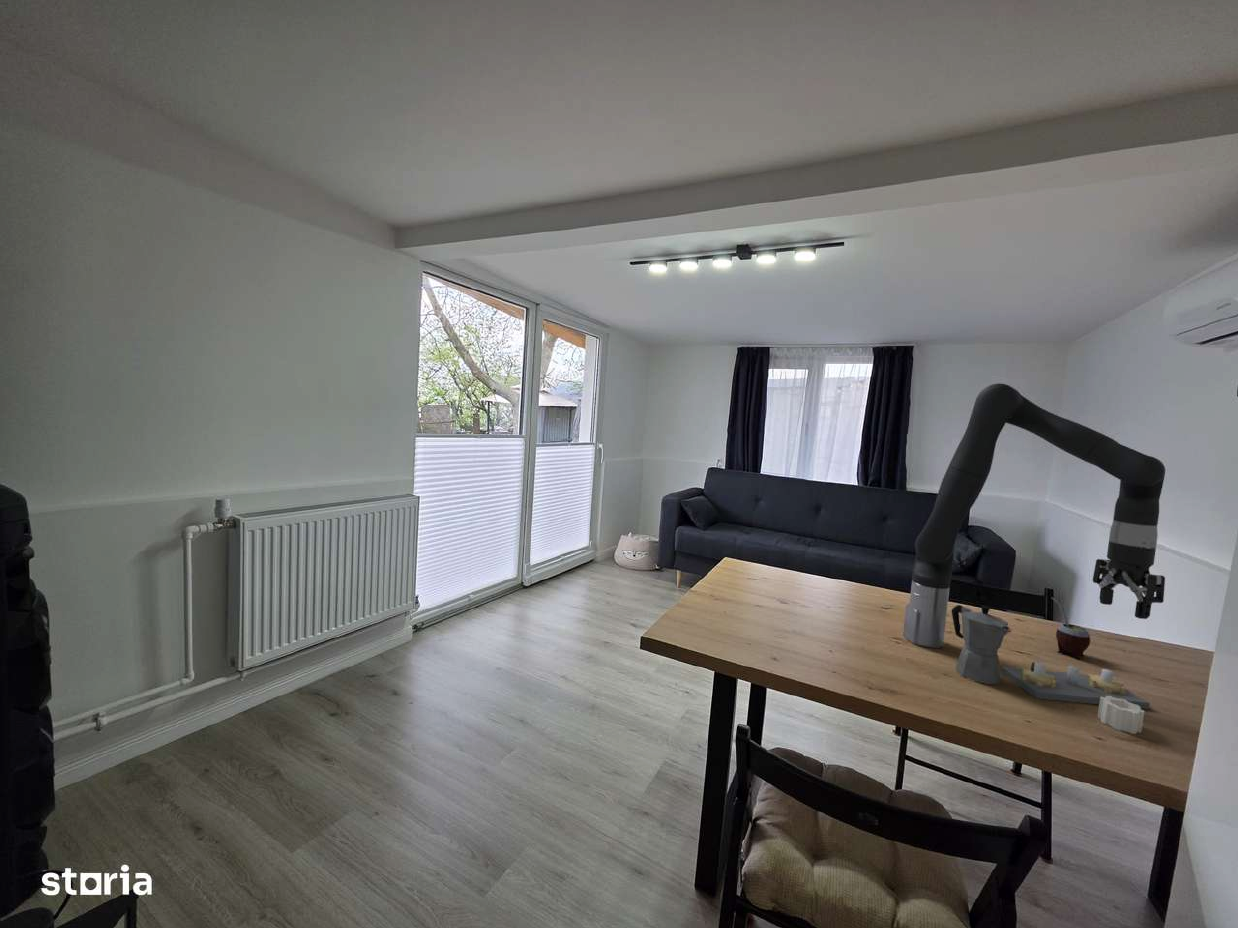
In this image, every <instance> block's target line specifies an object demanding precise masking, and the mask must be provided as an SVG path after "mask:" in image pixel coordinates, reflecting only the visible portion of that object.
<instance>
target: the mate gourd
mask: <svg viewBox="0 0 1238 928" xmlns="http://www.w3.org/2000/svg"><path fill="white" fill-rule="evenodd" d="M1050 598H1051V600H1053V602H1055V603H1056V605H1058V606H1059V610H1060V611H1061V613H1062V616H1063V619H1064V623H1063V624H1060V625H1059V626H1058V627H1057V630H1056V633H1055V637H1056V640H1057V648H1058V650H1057V652H1058V654H1059V653H1062V654H1061V655H1066V656H1071V657H1072V658H1074V659H1076V660H1079V661H1080V659H1081V658H1080V657H1084V656H1085V654H1084V652H1086V651H1087V649H1088V648H1089V646H1090V644H1091V637H1090V633H1089V632H1088V630H1087V629H1086V628H1084V627H1082V626H1079V625H1076V624H1070V623H1069V622H1068V619H1067V615H1066V612H1065V608H1064V606H1062V604H1061V603H1060V602H1059V601H1058V600H1057V599H1055V598H1054V597H1052V596H1051V597H1050ZM1057 652H1056V653H1057Z"/></svg>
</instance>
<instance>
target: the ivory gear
mask: <svg viewBox="0 0 1238 928" xmlns="http://www.w3.org/2000/svg"><path fill="white" fill-rule="evenodd" d="M1097 710H1098V713H1097V718H1098V719H1100V722H1101V723H1102V724H1104V725H1107V726H1109V727H1111V728H1113V729H1115V730H1117V731H1119V732H1121V731H1122V732H1127V733H1130V734H1132V735H1133V734H1134V735H1137V733H1140V734H1141V733H1142V731H1143V723H1144V718H1145V710H1143V709H1142V708H1141V707H1140V706H1138V705H1137V704H1133V703H1130V702H1128V701H1127V700H1124V699H1121V698H1120V699H1118V698H1114V697H1112V696H1106V697H1100V703H1099V704H1098V709H1097Z"/></svg>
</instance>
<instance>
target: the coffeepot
mask: <svg viewBox="0 0 1238 928" xmlns="http://www.w3.org/2000/svg"><path fill="white" fill-rule="evenodd" d="M989 611H990V607H988V606H986V605H983V606H982V605H981V612H980V611H972V609H970V608H968V607H965V606H963V605H960V604H957V605H956V606H954V607H952V609H951V617H952V622H953V627H954V631H955V635H956V636H957V637H959V638H960V639H963V641H964V645H963V647H962V648H961V652H960V653H959V657H958V659H957V663H956V665H955V668H954V669H955V671H956V672H957V673H958V674H959V675H960V676H962V677H963V678H965V679H967V678H969V679H971V680H970V681H972V680H974V681H973V682H975V681H976V683H978V682H979V684H982V683H986V684H985V685H988V684H994V685H998V684H999V682H1000V681H1001V669H1000V659H999V658H1000V657H999V655H998V650H999V649H1000V648H1002V647H1001V646H1002V643H1003V641H1004V637H1005V636H1006V635H1007V634H1008V633H1011V632H1012V629H1011V627H1009V626H1008V624H1009V622H1007V621H1006V620H1004V619H1003V618H1001V617H999V616H996V615H992V614H989ZM959 613H960V614H961V624H960V614H959ZM961 625H962V626H961ZM961 628H962V633H961ZM969 679H968V680H969ZM997 683H998V684H997Z"/></svg>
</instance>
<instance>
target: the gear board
mask: <svg viewBox="0 0 1238 928" xmlns="http://www.w3.org/2000/svg"><path fill="white" fill-rule="evenodd" d="M1046 667H1047V666H1046V665H1045V664H1042V663H1039V662H1034V661H1033V662H1031V667H1030V668H1025V667H1023V668H1021V667H1020V668H1018V667H1007V666H1006V667H1005V666H1002V667H1001V674H1003V675H1004V676H1006V677H1007V678H1009V679H1010V680H1011V679H1012V680H1013V681H1012V680H1011V681H1012V682H1013V683H1015V682H1016V683H1017V684H1016V683H1015V684H1016V685H1018V686H1019V685H1020V686H1021V687H1020V686H1019V687H1020V688H1022V687H1023V688H1024V689H1023V688H1022V689H1023V690H1024V691H1026V692H1027V691H1028V692H1027V693H1028V694H1030V695H1031V696H1033V697H1034V698H1035V699H1039V700H1040V699H1042V700H1051V701H1058V702H1059V701H1061V702H1070V703H1071V702H1072V703H1079V704H1080V703H1083V704H1092V705H1099V703H1100V697H1106V696H1112V697H1114V698H1118V699H1120V698H1121V699H1124V700H1127V701H1128V702H1130V703H1133V704H1137V705H1138V706H1140V707H1141V709H1142V710H1143V709H1145V710H1149V709H1150V703H1151V702H1149V701H1148V700H1145V699H1144V698H1142V697H1140V696H1139V695H1137V694H1136V693H1134V692H1132V691H1129V690H1128V689H1127V688H1126V687H1125V686H1124V682H1121V681H1119V680H1115V679H1114V671H1112V670H1110V669H1105V668H1101V674H1099V675H1098V674H1091V673H1088V674H1084V673H1080V669H1079V668H1078V667H1076V666H1073V665H1068V666H1067V672H1061V671H1052V670H1046Z"/></svg>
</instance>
